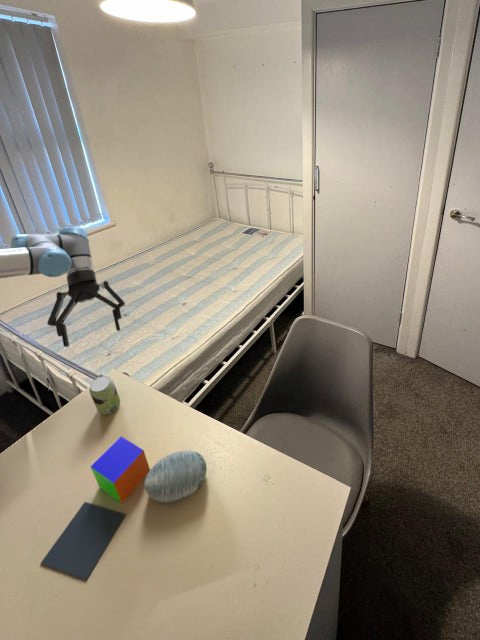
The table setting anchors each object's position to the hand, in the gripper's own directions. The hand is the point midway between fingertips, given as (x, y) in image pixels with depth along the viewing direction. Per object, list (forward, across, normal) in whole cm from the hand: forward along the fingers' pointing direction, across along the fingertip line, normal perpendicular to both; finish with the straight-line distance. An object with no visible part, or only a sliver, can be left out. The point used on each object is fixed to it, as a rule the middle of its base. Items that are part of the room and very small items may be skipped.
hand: (93, 338), depth 97 cm
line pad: (+44, +6, +17) cm, 48 cm away
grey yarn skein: (+44, -14, +17) cm, 49 cm away
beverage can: (+21, 0, -6) cm, 22 cm away
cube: (+38, -2, +11) cm, 40 cm away
